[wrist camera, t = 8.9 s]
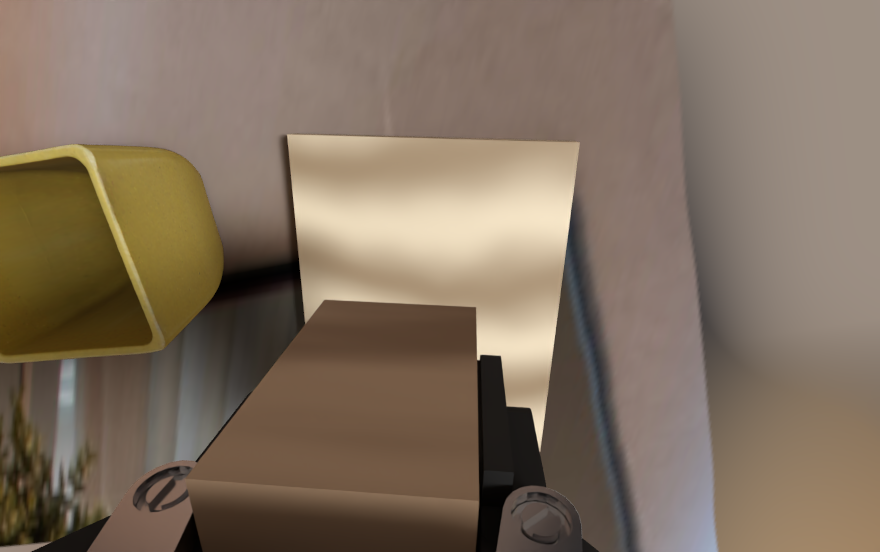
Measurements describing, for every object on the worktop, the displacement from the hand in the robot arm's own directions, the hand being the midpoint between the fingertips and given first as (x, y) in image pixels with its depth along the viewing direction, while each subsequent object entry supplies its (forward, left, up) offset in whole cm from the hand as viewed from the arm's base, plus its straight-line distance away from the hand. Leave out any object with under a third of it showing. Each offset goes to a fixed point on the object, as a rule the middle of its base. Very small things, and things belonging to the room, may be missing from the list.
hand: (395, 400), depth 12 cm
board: (+8, 0, -15) cm, 17 cm away
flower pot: (-1, -16, -15) cm, 22 cm away
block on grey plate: (+4, 0, -1) cm, 4 cm away
